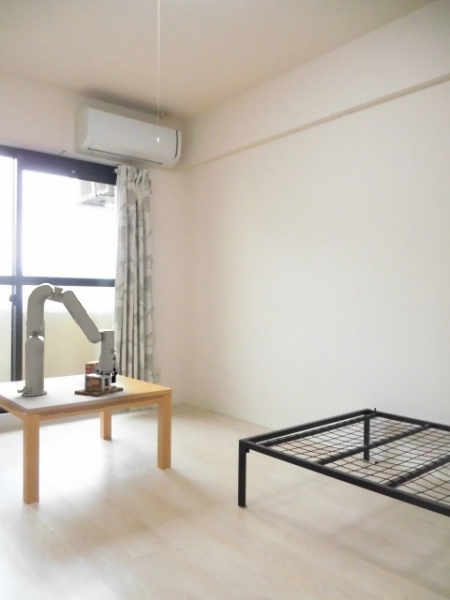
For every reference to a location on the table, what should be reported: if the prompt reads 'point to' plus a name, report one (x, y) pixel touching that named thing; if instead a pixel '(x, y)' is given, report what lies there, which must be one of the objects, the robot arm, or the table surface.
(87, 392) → the track board
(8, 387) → the table surface
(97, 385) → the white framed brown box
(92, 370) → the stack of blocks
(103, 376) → the tunnel
